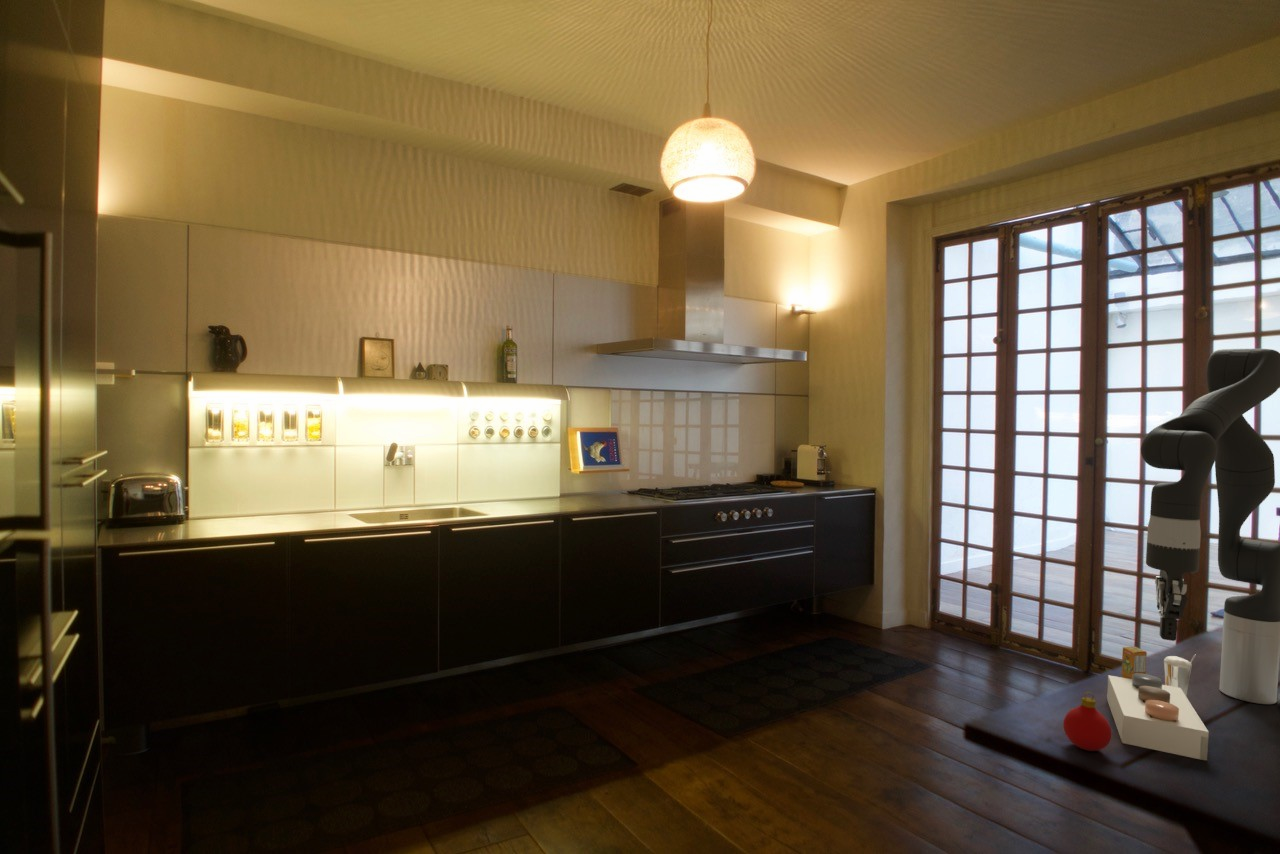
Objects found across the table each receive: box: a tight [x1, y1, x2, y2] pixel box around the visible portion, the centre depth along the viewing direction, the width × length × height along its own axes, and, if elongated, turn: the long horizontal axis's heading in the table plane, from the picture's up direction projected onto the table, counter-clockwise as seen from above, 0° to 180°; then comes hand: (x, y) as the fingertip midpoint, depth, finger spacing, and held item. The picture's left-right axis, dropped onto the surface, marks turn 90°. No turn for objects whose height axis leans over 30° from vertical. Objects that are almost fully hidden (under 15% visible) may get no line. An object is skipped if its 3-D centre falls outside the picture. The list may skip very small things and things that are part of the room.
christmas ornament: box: [1063, 691, 1112, 752], centre depth 122 cm, size 7×7×10 cm
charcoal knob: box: [1132, 673, 1163, 689], centre depth 139 cm, size 5×5×6 cm
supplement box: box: [1121, 646, 1148, 679], centre depth 147 cm, size 3×3×10 cm
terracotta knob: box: [1145, 700, 1179, 722], centre depth 125 cm, size 5×5×6 cm
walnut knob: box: [1138, 686, 1170, 703], centre depth 132 cm, size 5×5×6 cm
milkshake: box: [1163, 654, 1196, 697], centre depth 145 cm, size 4×5×10 cm
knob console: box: [1106, 674, 1210, 762], centre depth 132 cm, size 22×12×5 cm, turn 152°
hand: (1167, 638), depth 125 cm, fingers closed
